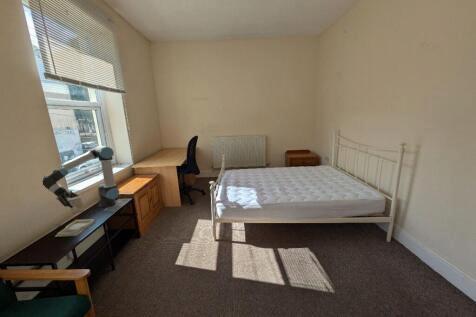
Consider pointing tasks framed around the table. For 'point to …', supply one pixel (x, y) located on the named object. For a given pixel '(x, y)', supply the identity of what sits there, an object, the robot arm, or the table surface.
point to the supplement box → (76, 204)
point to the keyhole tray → (75, 227)
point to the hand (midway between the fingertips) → (80, 207)
